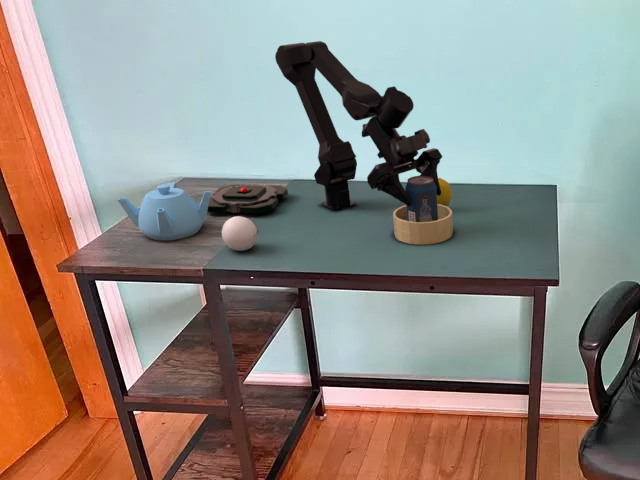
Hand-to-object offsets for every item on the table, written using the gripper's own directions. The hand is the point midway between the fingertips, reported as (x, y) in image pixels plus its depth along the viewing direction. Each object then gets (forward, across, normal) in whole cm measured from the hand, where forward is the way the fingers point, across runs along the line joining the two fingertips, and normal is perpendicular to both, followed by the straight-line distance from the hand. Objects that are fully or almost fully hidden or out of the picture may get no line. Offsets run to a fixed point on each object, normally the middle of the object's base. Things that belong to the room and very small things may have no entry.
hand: (425, 199), depth 158 cm
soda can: (+5, 0, +6) cm, 8 cm away
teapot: (-27, -36, +39) cm, 60 cm away
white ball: (-12, -31, +24) cm, 41 cm away
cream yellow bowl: (+5, 0, +7) cm, 8 cm away
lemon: (-1, +14, +13) cm, 19 cm away
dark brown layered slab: (-29, -15, +41) cm, 52 cm away
